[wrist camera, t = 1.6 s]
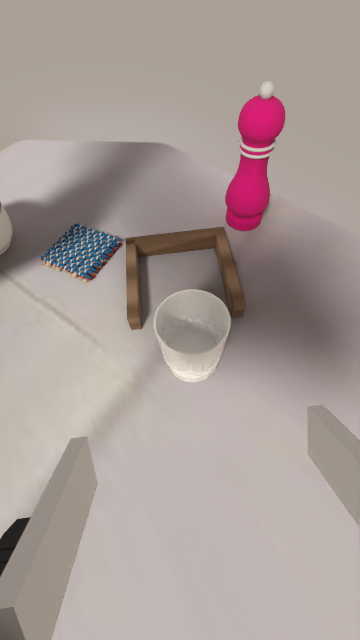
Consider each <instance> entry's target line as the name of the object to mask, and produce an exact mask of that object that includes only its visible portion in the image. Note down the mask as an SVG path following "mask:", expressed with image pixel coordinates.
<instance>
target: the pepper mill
mask: <svg viewBox="0 0 360 640" xmlns="http://www.w3.org/2000/svg"><path fill="white" fill-rule="evenodd" d="M273 93H274V85H273V83H272V82H270V81H267V82H264V83H263V84H262V85H261V87H260V90H259V96H256V97H253V98H252V99H250V100H249V101H248V102H247V103H246V104H245V105H244V106H243V108H242V110H241V112H240V115H239V121H238V129H239V132H240V134H241V136H242V137H241V138H240V141H239V143H240V145H239V152H240V153H241V159H240V164H239V168H238V170H237V173H236V175H235V177H234V178H233V180H232V181H231V183H230V185H229V187H228V189H227V192H226V197H225V201H226V205H227V207H228V208H227V214H226V221H227V223H228V225H229V226H231V227H232V228H234V229H236V230H240V231H248V230H252V229H255V228H256V227H257V226H258V225H259V224H260V222H261V218H262V214H263V212H262V211H263V210H264V209H265V208H266V207H267V205H268V203H269V197H270V189H269V183H268V178H267V164H268V159H269V156H270V155H271V154H272V153H273V152H274V146H275V144H276V140H275V138H276V137H277V136H278V135H279V134H280V132H281V131H282V129H283V126H284V122H285V109H284V106H283V104H282V102H281V101H280V100H279V99H277V98H276V97H274V96H272V95H273Z"/></svg>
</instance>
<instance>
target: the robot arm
mask: <svg viewBox="0 0 360 640" xmlns="http://www.w3.org/2000/svg"><path fill="white" fill-rule="evenodd" d="M308 455H309V457H310V458H311V459H312V461H313V462H314V464H315V465H316V466H317V468H318V469H319V471H320V472H321V473H322V475H323V476H324V478H325V479H326V481H327V482H328V483H329V485H330V486H331V488H332V489H333V490H334V492H335V493H336V495H337V496H338V497H339V499H340V500H341V502H342V503H343V505H344V506H345V507H346V509H347V510H348V512H349V513H350V514H351V516H352V517H353V519H354V520H355V521H356V523H357V524H358V526H359V527H360V440H359V439H358V438H357V437H356V436H355V435H353V434H352V433H351V432H350V431H349V430H348V429H347V428H346V427H345V426H344V425H343V424H342V423H341V422H340V421H339V420H338V419H337V418H336V417H335V416H334V415H333V414H332V413H331V412H330V411H329V410H328V409H326V408H325V407H324V406H323V405H319V406H312V407H308ZM96 486H97V479H96V475H95V470H94V466H93V461H92V457H91V453H90V448H89V444H88V439H87V437H80V438H72V439H71V440H70V442H69V444H68V446H67V448H66V450H65V452H64V453H63V455H62V457H61V459H60V461H59V463H58V465H57V467H56V469H55V471H54V473H53V475H52V477H51V479H50V481H49V483H48V485H47V487H46V489H45V491H44V493H43V495H42V497H41V498H40V500H39V502H38V504H37V506H36V508H35V510H34V512H33V514H32V516H31V517H29V518H22V519H17V520H16V521H15V522H14V523H13V524H12V525H11V526H10V528H9V529H8V530H7V531H6V532H5V533H4V534H3V536H2V538H1V539H0V640H51V638H52V635H53V631H54V628H55V625H56V621H57V618H58V614H59V611H60V608H61V604H62V601H63V598H64V594H65V591H66V588H67V584H68V581H69V577H70V574H71V571H72V567H73V564H74V561H75V557H76V554H77V550H78V547H79V544H80V540H81V537H82V534H83V530H84V527H85V524H86V520H87V517H88V513H89V510H90V507H91V503H92V500H93V497H94V493H95V490H96Z"/></svg>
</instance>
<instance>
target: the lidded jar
mask: <svg viewBox="0 0 360 640" xmlns="http://www.w3.org/2000/svg"><path fill="white" fill-rule="evenodd" d="M12 233H13V230H12V224H11V221H10V219H9V216H8V214H7V212H6V211H5V209H4V207H3V206H2V205H1V202H0V255H1V254H3V253H4V252H5V251H6V250H7V249H8V248H9V246H10V244H11V238H12Z"/></svg>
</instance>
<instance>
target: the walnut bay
mask: <svg viewBox="0 0 360 640" xmlns="http://www.w3.org/2000/svg"><path fill="white" fill-rule="evenodd" d="M211 248H215V251H216V255H217V259H218V263H219V267H220V271H221V275H222V279H223V283H224V287H225V291H226V295H227V299H228V303H229V307H230V311H231V315H232V318H233V317H241V316H243V312H244V309H245V305H246V304H245V300H244V297H243V293H242V290H241V287H240V283H239V280H238V276H237V273H236V269H235V266H234V262H233V259H232V255H231V252H230V249H229V245H228V242H227V238H226V235H225V231H224V228H223V227H218V228H209V229H201V230H192V231H183V232H175V233H166V234H157V235H148V236H140V237H131V238H126V279H127V320H128V322H129V325H130V327H131V330H134V329H142V317H141V297H140V277H139V257H142V256H151V255H159V254H168V253H176V252H185V251H194V250H202V249H211Z"/></svg>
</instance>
